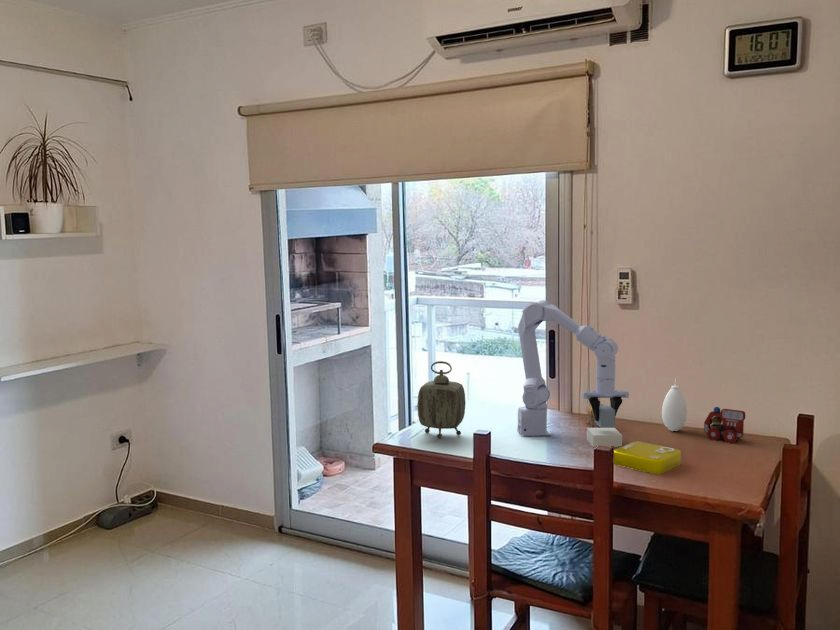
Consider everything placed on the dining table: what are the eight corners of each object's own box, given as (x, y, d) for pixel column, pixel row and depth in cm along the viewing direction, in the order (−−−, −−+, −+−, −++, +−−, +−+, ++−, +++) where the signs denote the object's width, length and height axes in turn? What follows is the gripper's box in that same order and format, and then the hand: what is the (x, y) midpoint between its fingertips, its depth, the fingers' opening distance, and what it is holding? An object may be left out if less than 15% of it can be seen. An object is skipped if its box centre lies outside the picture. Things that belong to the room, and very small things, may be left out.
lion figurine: (609, 431, 246) (610, 404, 245) (594, 431, 245) (594, 405, 244) (593, 420, 260) (594, 395, 259) (579, 420, 260) (580, 395, 259)
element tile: (635, 454, 221) (635, 438, 221) (683, 464, 211) (683, 448, 210) (610, 465, 211) (610, 449, 210) (659, 477, 200) (659, 460, 200)
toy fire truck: (708, 433, 242) (709, 403, 241) (747, 440, 234) (748, 408, 233) (700, 438, 237) (702, 406, 236) (740, 445, 229) (742, 412, 228)
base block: (593, 447, 227) (593, 435, 227) (586, 439, 236) (586, 427, 236) (621, 447, 227) (622, 435, 227) (614, 439, 236) (614, 427, 236)
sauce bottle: (689, 430, 246) (691, 378, 244) (680, 435, 240) (683, 381, 238) (666, 426, 251) (668, 375, 249) (657, 431, 245) (659, 378, 243)
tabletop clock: (465, 434, 241) (465, 360, 239) (459, 442, 233) (460, 364, 230) (423, 431, 245) (423, 358, 242) (415, 438, 237) (415, 362, 234)
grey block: (600, 427, 228) (601, 410, 227) (594, 422, 234) (595, 405, 233) (614, 427, 228) (615, 410, 228) (608, 422, 234) (608, 405, 234)
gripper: (586, 380, 225) (585, 423, 227) (632, 380, 226) (631, 422, 228) (580, 376, 232) (579, 418, 234) (624, 375, 233) (623, 417, 235)
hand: (604, 420), depth 231 cm, fingers closed on grey block, 4 cm apart
